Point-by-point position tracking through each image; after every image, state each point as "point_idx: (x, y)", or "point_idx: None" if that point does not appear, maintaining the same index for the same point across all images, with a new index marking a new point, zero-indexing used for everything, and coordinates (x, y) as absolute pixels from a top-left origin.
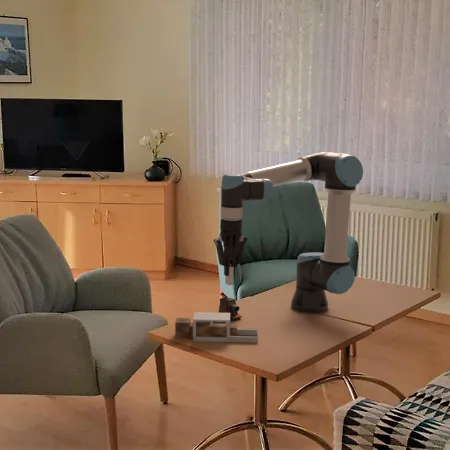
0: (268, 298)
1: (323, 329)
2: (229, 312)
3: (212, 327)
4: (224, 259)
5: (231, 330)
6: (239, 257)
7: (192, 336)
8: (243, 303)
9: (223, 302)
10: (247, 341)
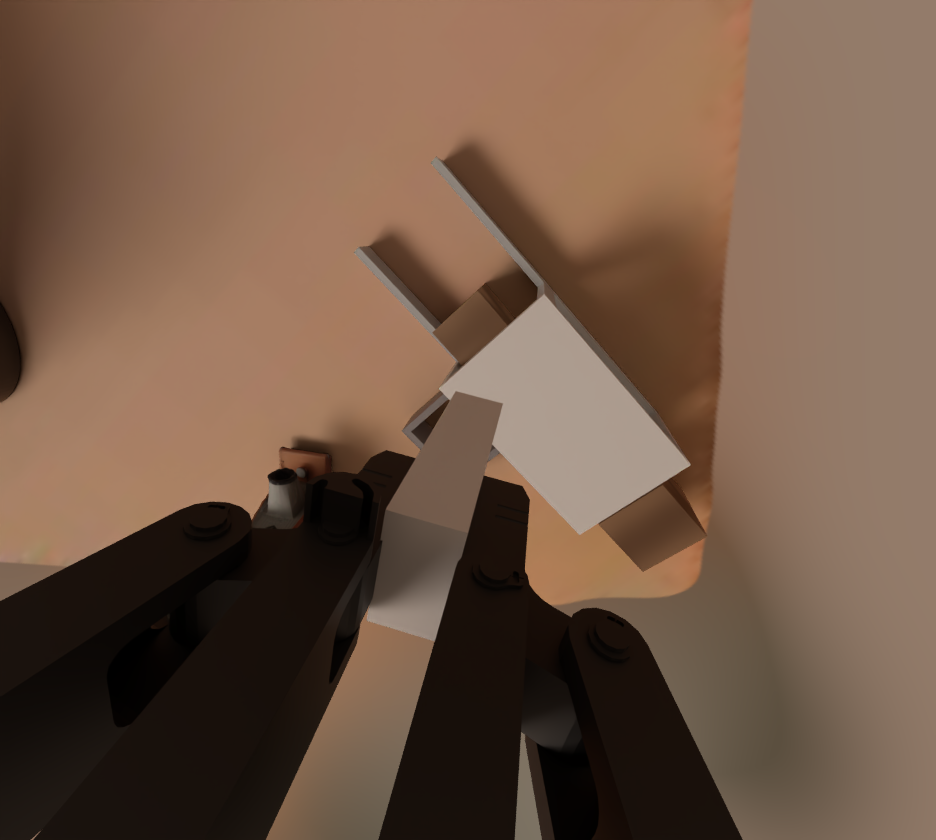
0: (49, 519)
1: (22, 40)
2: None
3: None
4: (633, 776)
5: (499, 311)
6: (91, 614)
7: None
8: None
9: None
10: (480, 205)
